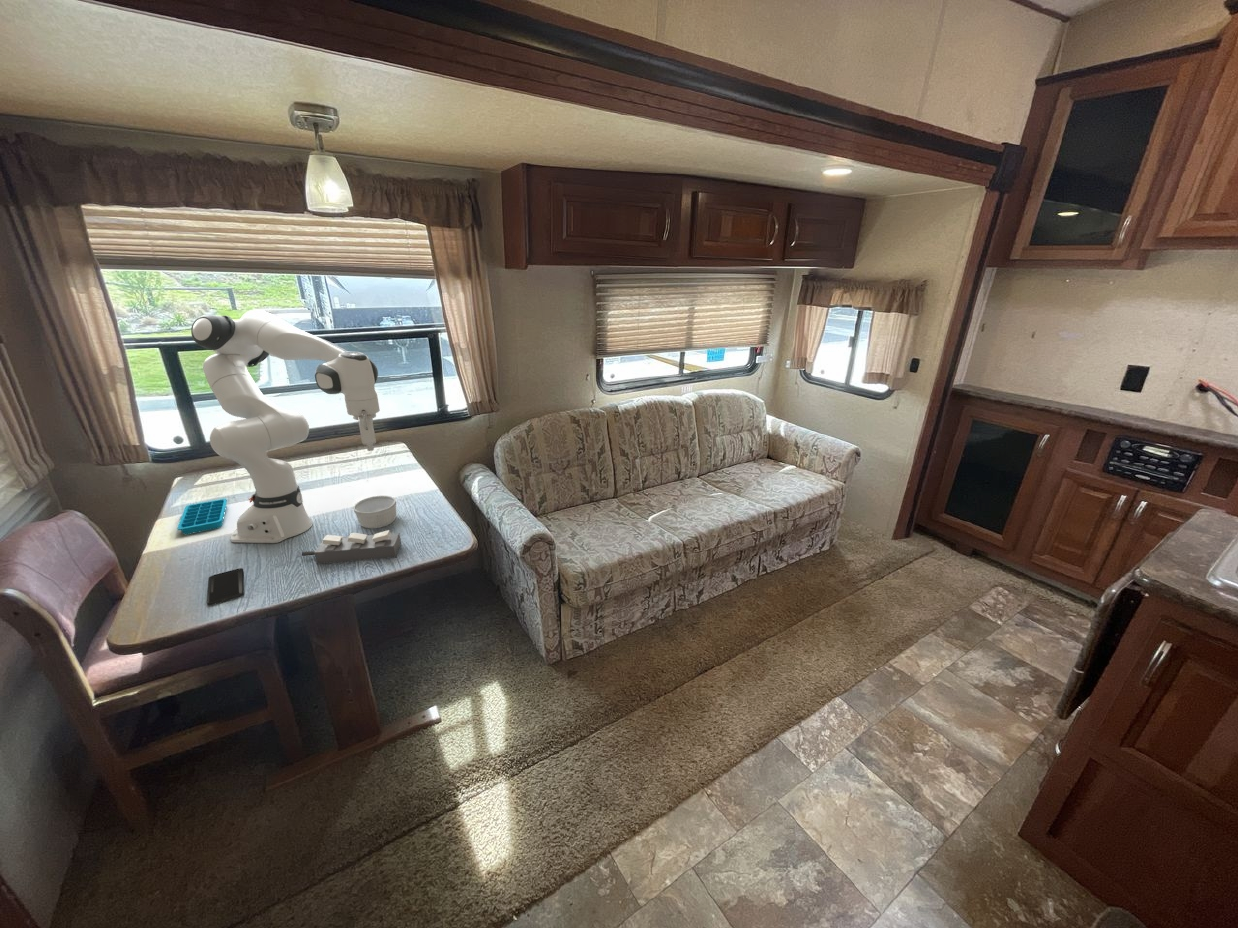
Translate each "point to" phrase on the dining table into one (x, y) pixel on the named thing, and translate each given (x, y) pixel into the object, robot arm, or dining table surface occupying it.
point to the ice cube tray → (202, 516)
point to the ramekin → (375, 511)
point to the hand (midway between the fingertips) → (370, 449)
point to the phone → (225, 586)
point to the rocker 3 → (381, 536)
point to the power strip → (356, 550)
